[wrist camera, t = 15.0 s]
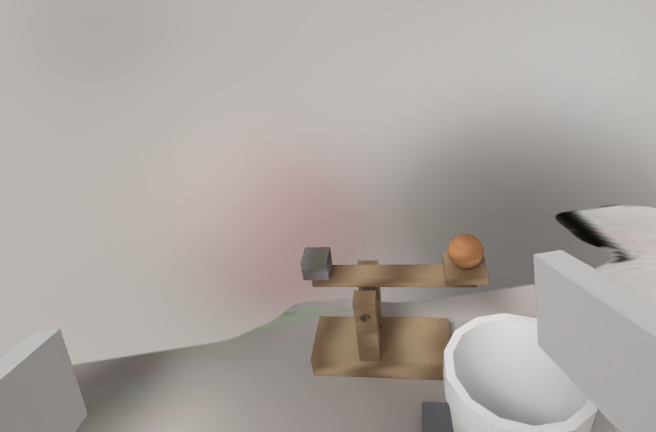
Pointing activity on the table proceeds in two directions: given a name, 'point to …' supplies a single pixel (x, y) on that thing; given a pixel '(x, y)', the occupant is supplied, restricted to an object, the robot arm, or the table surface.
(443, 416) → the mat
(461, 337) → the foam cup
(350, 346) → the catapult
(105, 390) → the table surface
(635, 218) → the table surface
